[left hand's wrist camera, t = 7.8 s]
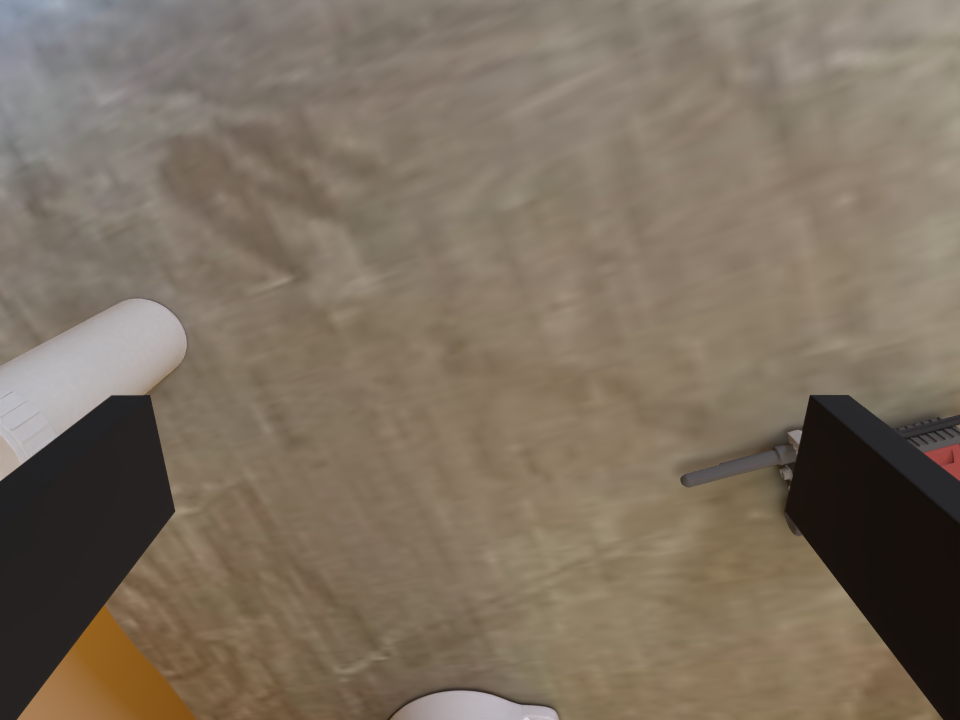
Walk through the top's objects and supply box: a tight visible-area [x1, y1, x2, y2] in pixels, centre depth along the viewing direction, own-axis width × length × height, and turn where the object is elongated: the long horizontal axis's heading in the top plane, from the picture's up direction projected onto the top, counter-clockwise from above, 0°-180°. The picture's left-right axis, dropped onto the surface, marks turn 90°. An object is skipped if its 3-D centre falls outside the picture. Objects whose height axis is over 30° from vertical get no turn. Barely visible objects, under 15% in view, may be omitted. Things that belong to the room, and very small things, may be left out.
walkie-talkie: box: [680, 415, 960, 536], centre depth 43 cm, size 9×4×20 cm
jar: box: [0, 298, 187, 437], centre depth 34 cm, size 5×5×16 cm
